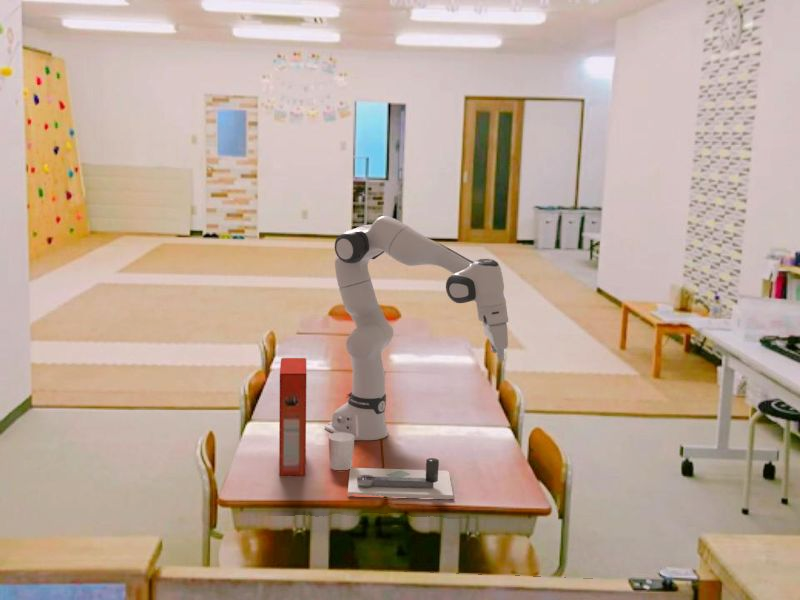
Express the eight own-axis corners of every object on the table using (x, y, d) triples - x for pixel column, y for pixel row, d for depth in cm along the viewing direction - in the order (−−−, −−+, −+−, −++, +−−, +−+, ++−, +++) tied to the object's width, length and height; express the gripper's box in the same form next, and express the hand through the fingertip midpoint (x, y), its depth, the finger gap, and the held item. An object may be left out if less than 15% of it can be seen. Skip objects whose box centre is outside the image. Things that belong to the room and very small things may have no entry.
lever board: (347, 497, 247) (347, 491, 246) (349, 472, 264) (350, 467, 264) (452, 500, 248) (453, 494, 247) (448, 475, 265) (448, 470, 265)
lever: (356, 487, 249) (357, 461, 247) (357, 480, 254) (358, 454, 252) (438, 489, 249) (439, 463, 248) (437, 482, 254) (438, 457, 253)
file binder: (278, 476, 259) (279, 373, 253) (279, 455, 276) (281, 357, 270) (305, 476, 260) (307, 373, 254) (305, 455, 277) (307, 358, 271)
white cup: (334, 473, 263) (334, 442, 261) (324, 464, 270) (324, 434, 268) (357, 470, 266) (358, 439, 264) (347, 461, 273) (348, 430, 271)
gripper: (476, 306, 272) (481, 349, 275) (487, 321, 252) (493, 366, 255) (496, 303, 272) (501, 346, 275) (509, 318, 252) (514, 363, 255)
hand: (497, 356), depth 265 cm, fingers open, 8 cm apart
